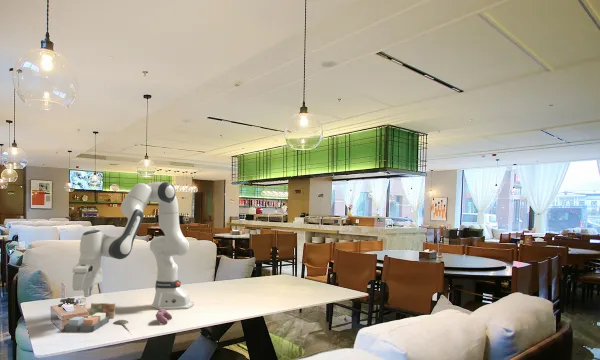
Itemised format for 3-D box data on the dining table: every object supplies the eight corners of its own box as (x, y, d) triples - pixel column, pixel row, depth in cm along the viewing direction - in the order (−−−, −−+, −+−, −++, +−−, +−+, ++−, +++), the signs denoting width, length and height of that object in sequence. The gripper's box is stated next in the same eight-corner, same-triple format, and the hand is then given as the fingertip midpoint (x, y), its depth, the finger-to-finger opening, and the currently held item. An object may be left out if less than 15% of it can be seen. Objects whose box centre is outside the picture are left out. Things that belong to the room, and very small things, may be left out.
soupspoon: (126, 324, 175) (111, 326, 171) (126, 316, 175) (111, 319, 171) (137, 334, 158) (120, 338, 154) (137, 326, 158) (120, 329, 154)
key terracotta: (97, 323, 162) (98, 317, 162) (92, 327, 157) (92, 320, 157) (88, 323, 161) (89, 316, 162) (82, 327, 156) (83, 320, 157)
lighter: (73, 317, 180) (75, 296, 181) (76, 318, 178) (78, 297, 179) (55, 320, 173) (57, 298, 174) (58, 321, 171) (60, 300, 172)
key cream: (105, 319, 169) (105, 312, 169) (100, 322, 164) (100, 315, 164) (96, 319, 168) (96, 312, 169) (90, 322, 163) (91, 315, 164)
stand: (116, 319, 178) (117, 303, 179) (112, 321, 174) (113, 304, 175) (90, 319, 177) (92, 302, 178) (86, 321, 173) (88, 304, 174)
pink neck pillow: (164, 322, 181) (158, 309, 182) (173, 318, 182) (167, 305, 182) (158, 328, 171) (152, 314, 172) (167, 323, 172) (161, 310, 172)
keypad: (108, 324, 170) (109, 316, 170) (92, 334, 155) (93, 325, 155) (81, 323, 169) (82, 316, 169) (63, 334, 154) (64, 325, 155)
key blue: (83, 323, 161) (84, 316, 162) (77, 327, 156) (78, 319, 157) (74, 323, 161) (75, 316, 161) (68, 327, 156) (68, 319, 156)
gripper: (93, 262, 178) (92, 291, 177) (70, 269, 158) (68, 301, 157) (107, 262, 179) (105, 291, 178) (85, 269, 159) (83, 302, 157)
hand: (87, 296), depth 167 cm, fingers closed
